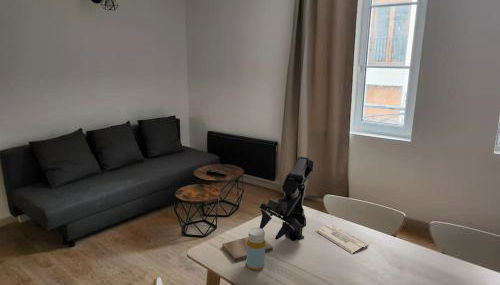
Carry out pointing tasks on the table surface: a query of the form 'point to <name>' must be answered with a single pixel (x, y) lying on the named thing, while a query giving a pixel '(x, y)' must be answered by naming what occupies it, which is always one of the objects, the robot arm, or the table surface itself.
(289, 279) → the table surface
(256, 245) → the bottle
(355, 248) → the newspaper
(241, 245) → the brown rectangular board
